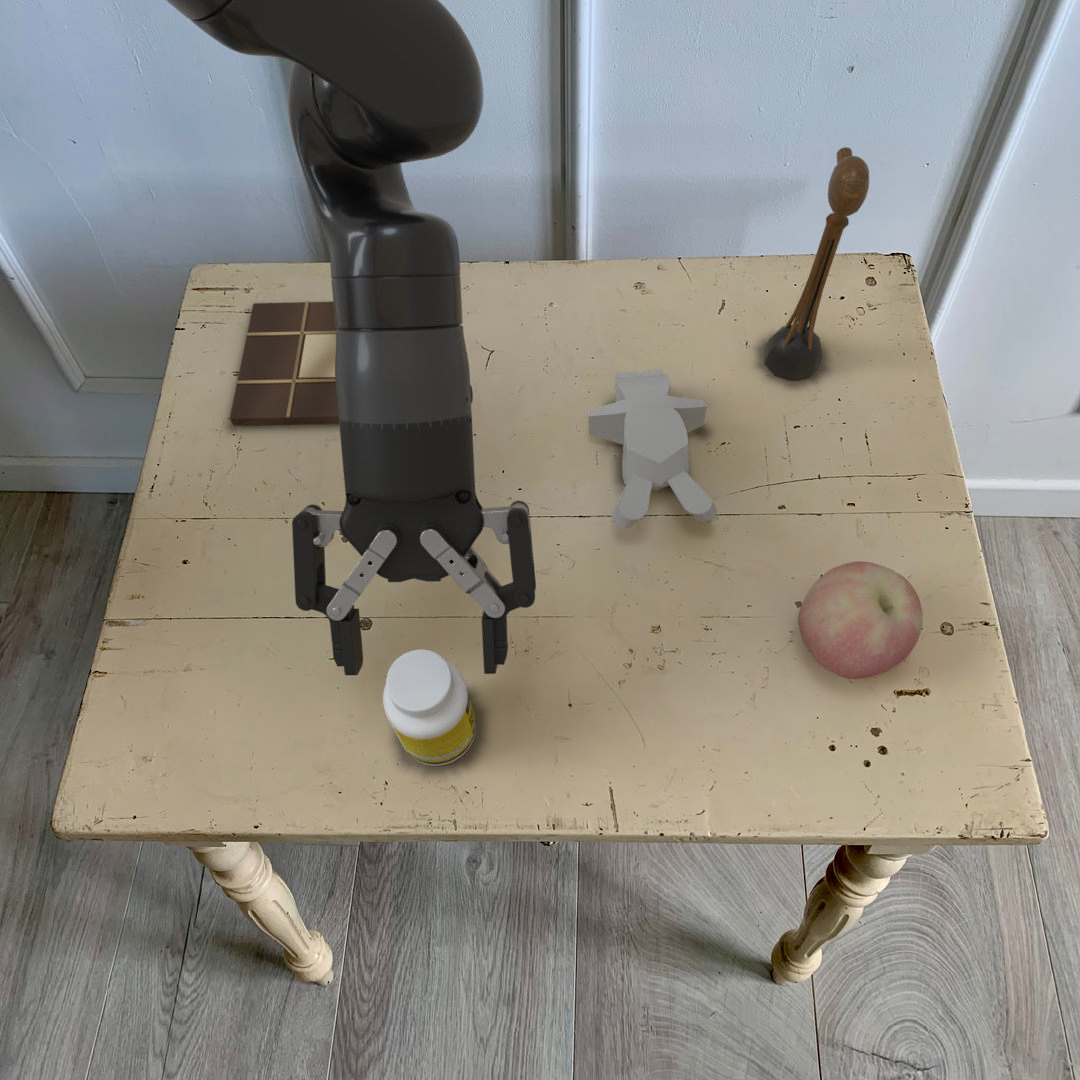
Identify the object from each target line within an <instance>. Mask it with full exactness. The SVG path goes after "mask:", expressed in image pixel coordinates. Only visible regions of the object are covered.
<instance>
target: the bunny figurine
mask: <svg viewBox="0 0 1080 1080" xmlns="http://www.w3.org/2000/svg"><path fill="white" fill-rule="evenodd" d="M614 383H615V384H614V385H615V386H614V388H615V402H612V403H608V404H605V405H601V406H598V407H594V408H591V409H588V412H587V413H588V418H587V419H588V421H587V422H588V423H587V424H588V426H587V427H588V428H587V429H588V431H587V432H588V436H591V437H595V438H598V439H602V440H605V441H609V442H612V443H616V444H619V445H622V448H623V449H622V462H621V472H622V480H623V483H624V485H625V486H624V488H623V490H622V492H621V494H620V496H619V498H618V500H617V502H616V504H615V506H614V509H613V510H612V512H611V521H612V523H613V524H614V525H615V526H616V527H618V528H622V529H628V528H632V527H634V526H635V525H637V524H638V523H639V522H640V521H641V520H642V519H643V517H645V515H646V514H648V509H649V504H650V499H651V493H652V490H653V491H659V490H663V489H664V488H666V487H669V486H670V488H671V490H672V491H673V493H674V495H675V496H676V498H677V499H678V501H679V502H680V504H681V506H682V508H683V509H684V510H685V511H686V512H687V513H688V514H690V515H691V516H692V517H693V518H694V519H695V520H697V521H702V522H709V521H712V520H713V519H715V518H716V516H717V513H718V510H717V508H716V504H715V503H714V502H713V500H712V498H711V497H710V496H709V494H708V493H707V492H706V491H705V490H704V489H703V488H702V487H701V486H700V485H699V484H698V483H697V481H695V480H694V479H693V477H691V476H690V462H689V461H690V459H689V457H690V456H689V448H690V447H689V437H688V433H690V432H692V431H694V430H696V429H699V428H701V427H702V426H704V425H705V421H706V415H707V414H706V413H707V408H708V407H707V404H706V402H705V400H703V399H696V398H689V397H679V396H673V395H670V388H671V377H670V376H669V375H668V374H665V373H664V372H663V369H662V368H659V369H649V370H648V369H647V370H642V371H641V373H640V375H639V374H638V372H637V371H624V372H622V371H621V372H615V382H614Z"/></svg>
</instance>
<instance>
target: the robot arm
mask: <svg viewBox="0 0 1080 1080" xmlns="http://www.w3.org/2000/svg"><path fill="white" fill-rule="evenodd" d="M165 1H166V2H167V3H168V4H170V5H171V6H172V7H173V8H175V10H177V11H178V12H179V13H180V14H182V15H183V16H184V17H185V18H186V19H189V20H190V22H192V24H194V25H195V26H197V27H198V28H199V29H200V30H201V31H203V32H204V33H205V34H206V35H208V36H209V37H211V38H212V39H213V40H215V41H217V42H218V43H219V44H221V45H223V46H224V47H226V48H228V49H229V50H231V51H234V52H236V53H238V54H242V55H247V56H254V57H255V56H256V57H258V56H259V57H274V58H281V59H284V60H288V61H290V62H292V64H291V69H290V75H289V80H288V81H289V82H288V87H287V88H288V89H287V112H288V121H289V125H290V126H289V127H290V131H291V136H292V140H293V143H294V148H295V151H296V154H297V158H298V161H299V163H300V164H299V165H300V167H301V171H302V173H303V177H304V180H305V183H306V187H307V189H308V193H309V196H310V200H311V202H312V206H313V209H314V212H315V215H316V218H317V221H318V223H319V226H320V228H321V231H322V233H323V236H324V239H325V242H326V245H327V248H328V253H329V264H330V278H331V281H330V282H331V293H332V302H333V305H334V316H335V327H336V328H338V329H337V330H336V354H335V381H336V392H337V403H338V414H339V423H338V425H339V435H340V436H339V437H340V446H341V449H340V450H341V459H342V470H343V471H342V472H343V483H344V491H345V492H344V493H345V505H344V507H343V510H327V509H326V510H323V509H322V508H321V506H319V505H318V504H315V503H313V504H308V505H306V506H305V507H304V508H303V509H302V510H300V512H299V513H298V514H296V515H295V516H294V517H293V519H292V522H291V529H292V551H293V553H292V554H293V574H294V576H293V578H294V596H295V597H294V598H295V604H296V607H297V608H298V609H300V610H301V611H304V612H310V611H311V610H312V611H314V612H315V611H316V612H318V613H321V614H323V615H324V616H325V617H326V618H327V619H328V621H329V627H330V637H331V638H330V639H331V647H332V658H333V661H334V663H335V665H336V667H343V671H344V675H345V676H358V675H359V673H360V671H361V669H362V667H363V666H364V665H363V664H364V652H363V651H364V649H363V641H362V640H363V639H362V630H361V628H362V627H361V617H360V609H359V608H355V603H356V602H357V601H358V599H359V598H360V596H361V595H363V592H364V591H365V590H366V588H367V586H368V585H369V584H370V583H371V581H372V580H373V578H374V577H375V575H376V574H377V575H378V576H379V577H381V578H383V579H385V580H387V583H402V582H407V581H411V580H419V581H423V582H433V583H434V582H441V581H442V579H445V578H447V577H448V576H450V577H451V579H452V580H453V581H454V582H455V583H456V584H457V585H458V587H459V588H460V589H461V590H462V591H463V592H464V593H465V594H468V595H470V597H471V598H472V599H473V600H474V601H475V603H476V604H477V605H478V606H479V607H480V608H481V609H482V610H483V612H482V615H481V616H482V617H481V633H482V657H483V673H484V675H496V674H497V669H498V665H499V666H501V665H505V662H506V660H507V658H508V651H509V641H508V636H509V635H508V614H509V613H511V611H514V610H516V609H519V608H522V609H526V608H530V607H531V606H533V605H534V603H535V600H536V589H537V581H536V572H535V571H536V570H535V560H534V551H533V550H534V549H533V538H532V527H531V518H530V517H531V516H530V508H529V505H528V503H526V502H525V501H522V500H516V501H513V502H511V504H510V505H509V506H508V505H507V506H496V507H485V508H483V506H482V505H481V503H480V501H479V499H478V496H477V492H476V479H475V477H476V476H475V457H474V435H473V434H474V433H473V415H472V414H473V413H472V412H473V411H472V403H473V402H474V401H473V399H474V396H473V395H474V392H473V386H472V384H471V373H470V363H469V355H468V351H467V347H466V341H465V333H464V326H463V325H462V324H463V323H464V322H463V304H462V302H463V301H462V281H461V259H460V258H461V257H460V249H459V243H458V242H459V241H458V238H457V234H456V232H455V230H454V228H453V226H452V225H451V224H450V222H448V221H447V220H446V219H444V218H442V217H440V216H438V215H436V214H433V213H429V212H424V211H420V210H417V209H415V207H414V204H413V201H412V199H411V196H410V193H409V189H408V186H407V184H406V180H405V177H404V173H403V167H402V164H404V163H405V164H406V163H411V162H417V161H424V160H430V159H433V158H434V159H435V158H438V157H441V156H444V155H446V154H448V153H451V152H453V151H455V150H456V149H458V148H460V147H461V146H462V145H463V144H465V143H466V141H467V140H469V138H470V137H471V136H472V134H473V133H474V131H475V129H476V127H478V123H479V121H480V118H481V115H482V111H483V105H484V82H483V74H482V71H481V67H480V63H479V61H478V58H477V54H476V53H475V50H474V48H473V45H472V43H471V41H470V39H469V38H468V36H467V34H466V33H465V31H464V29H463V28H462V26H461V25H460V24H459V21H457V19H456V18H455V17H454V15H453V14H452V13H451V12H450V11H449V10H448V9H447V8H446V6H445V5H444V4H443V3H442V2H441V1H440V0H165ZM484 528H488V529H491V530H492V531H493V532H494V536H495V538H496V540H497V541H498V542H499V543H501V544H503V545H508V546H509V557H510V566H511V567H510V568H511V574H512V575H511V577H512V582H509V583H507V584H504V585H502V584H501V582H500V581H499V580H498V579H497V578H496V576H495V575H494V574H493V573H492V572H491V571H490V570H489V568H488V566H487V564H486V562H485V560H484V559H483V558H482V557H481V556H480V555H479V554H478V552H477V551H476V550H475V549H474V547H473V544H474V543H475V542H476V541H477V539H478V537H479V536H480V535H481V533H482V531H483V530H484ZM336 531H340V532H341V533H342V535H343V536H344V538H345V539H346V540H347V541H348V542H349V544H350V545H351V546H352V548H353V549H354V550H356V552H357V553H358V554H359V555H360V556H361V557H360V558H359V560H358V562H357V563H356V565H355V566H354V568H353V569H352V570H351V572H350V573H349V574H348V576H347V577H346V579H345V580H344V582H343V583H342V585H341V586H340V587H339V588H336V587H333V586H330V585H327V581H326V579H327V578H326V555H325V552H326V551H325V550H326V549H325V548H326V547H328V545H329V544H330V543H331V542H332V541H333V540H334V536H335V532H336Z"/></svg>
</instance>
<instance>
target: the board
mask: <svg viewBox="0 0 1080 1080" xmlns="http://www.w3.org/2000/svg"><path fill="white" fill-rule="evenodd" d="M251 308H252V309H251V313H250V317H249V323H248V327H247V332H246V333H245V342H244V347H243V352H242V356H241V360H240V361H241V362H240V366H239V372H238V376H237V380H236V381H235V384H236V386H235V391H234V396H233V400H232V405H231V410H230V414H229V420H230V422H231V424H232V425H233V426H269V425H270V426H272V425H273V426H274V425H277V426H278V425H321V424H323V425H325V424H327V425H329V424H339V414H338V403H337V392H336V381H335V354H336V330H337V329H338V328H336V327H335V316H334V305H333V301H310V300H305V301H299V302H298V301H295V302H294V301H293V302H254V303H253V304H252V307H251Z"/></svg>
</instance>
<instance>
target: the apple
mask: <svg viewBox="0 0 1080 1080" xmlns="http://www.w3.org/2000/svg"><path fill="white" fill-rule="evenodd" d="M923 615H924V614H923V609H922V604H921V600H920V596H919V595H918V593H917V591H916V589H915V588H914V586H913V585H912V584H911V582H910V581H909V580H908V579H907V578H906V577H905V576H904V575H902V574H900V573H898V572H897V571H895V570H893V569H891V568H889V567H887V566H885V565H881V564H879V563H878V564H877V563H874V562H870V561H861V560H860V561H850V562H847V563H844V564H841V565H839V566H836V567H833V568H831V569H829V570H828V571H826V572H824V574H823V575H821V576H820V577H819V578H818V579H817V580H815V582H813V584H812V585H811V587H810V588H809V589H808V591H807V593H806V595H805V597H804V598H803V600H802V603H801V605H800V608H799V612H798V619H797V624H798V628H799V632H800V635H801V639H802V641H803V643H804V645H805V647H806V649H807V650H808V652H809V653H810V655H811V656H812V657H813V659H814V661H815V662H816V663H817V664H818V665H819V666H820V667H821V668H823V669H825V670H826V671H828V672H830V673H831V674H833V675H836V676H838V677H840V678H843V679H844V678H845V679H850V680H862V679H867V678H872V677H875V676H878V675H882V674H884V673H887V672H888V671H891V670H892V669H894V668H896V667H897V666H899V665H900V664H901V663H902V662H904V661H905V660H906V659H907V658H908V657H909V655H910V654H911V653H912V651H913V649H914V648H915V647H916V645H917V643H918V641H919V638H920V636H921V633H922V628H923V624H924V623H923V622H924V616H923Z"/></svg>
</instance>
